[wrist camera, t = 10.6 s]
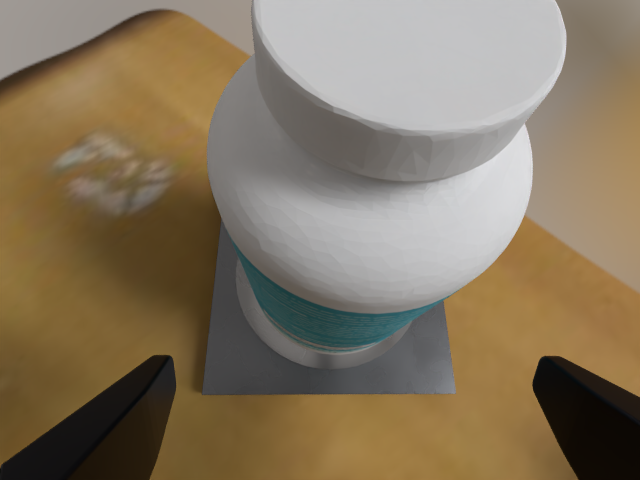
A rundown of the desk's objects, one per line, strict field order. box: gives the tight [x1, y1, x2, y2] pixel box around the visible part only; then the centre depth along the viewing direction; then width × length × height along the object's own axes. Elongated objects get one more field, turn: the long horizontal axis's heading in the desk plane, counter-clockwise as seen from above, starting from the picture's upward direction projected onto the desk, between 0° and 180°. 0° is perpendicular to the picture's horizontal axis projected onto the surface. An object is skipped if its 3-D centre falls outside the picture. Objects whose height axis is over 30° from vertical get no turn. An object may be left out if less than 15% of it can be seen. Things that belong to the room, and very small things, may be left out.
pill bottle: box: [207, 0, 566, 355], centre depth 12 cm, size 8×7×14 cm
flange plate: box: [202, 218, 456, 395], centre depth 19 cm, size 11×11×1 cm
